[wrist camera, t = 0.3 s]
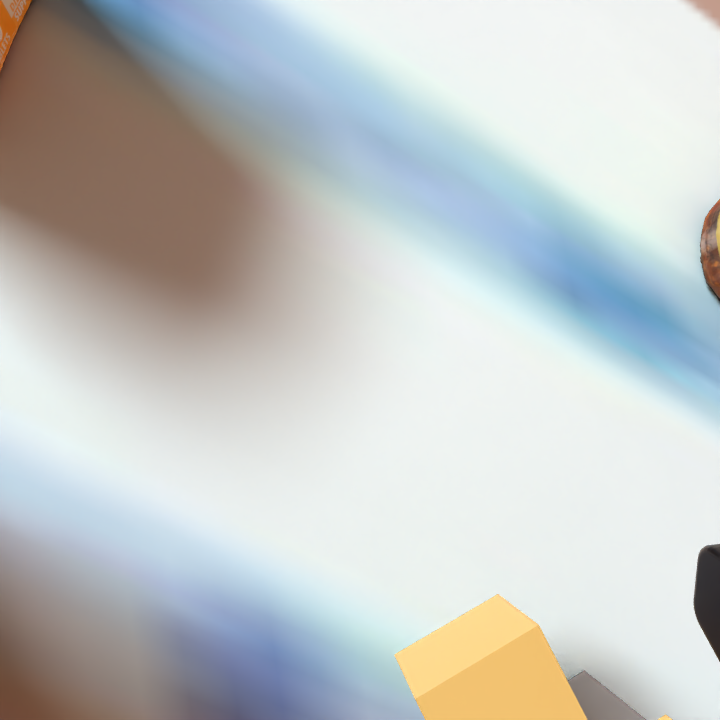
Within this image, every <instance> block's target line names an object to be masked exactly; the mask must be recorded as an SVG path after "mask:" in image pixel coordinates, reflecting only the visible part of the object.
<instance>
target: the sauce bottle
mask: <svg viewBox="0 0 720 720" xmlns="http://www.w3.org/2000/svg"><path fill="white" fill-rule="evenodd" d="M700 248H701V257H700V259H701V263H702V267H703V272H704V276H705V279H706V283H707V284H708V285H709V286H710V287H711V288H712V289H713V291H714V292H715V293H716V295H717V296H718V297H719V298H720V199H719V201H718V202H717V203H716V204H715V205H714V206H713V207H712V209H711V210H710V211H709V213H708V215H707V216H706V218H705V221H704V225H703V229H702V234H701V242H700Z"/></svg>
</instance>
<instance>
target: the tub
mask: <svg viewBox="0 0 720 720" xmlns="http://www.w3.org/2000/svg"><path fill="white" fill-rule="evenodd" d="M568 683H569V685H570V687H571V689H572V691H573V693H574V695H575V696H576V698H577V700H578V702H579V704H580V706H581V708H582V710H583V712H584V714H585V716H586V718H587V720H646V719H645V718H643V717H642V716H641V715H640V714H638V713H637V712H636V711H634V710H633V709H632V708H631V707H629V706H628V705H627V704H626V703H624V702H623V701H622V700H621V699H619V698H618V697H617V696H616V695H614V694H613V693H612V692H611V691H609V690H608V689H607V688H606V687H604V686H603V685H602V684H601V683H599V682H598V681H597V680H596V679H594V678H593V677H592V676H591V675H589V674H588V673H587V672H586V671H583V672H581V673H580V674H578V675H576V676H575V677H573V678H571V679H570V680H568Z"/></svg>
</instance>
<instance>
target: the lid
mask: <svg viewBox="0 0 720 720" xmlns="http://www.w3.org/2000/svg"><path fill="white" fill-rule="evenodd" d="M395 657H396V659H397V662H398V664H399V666H400V668H401V670H402V672H403V674H404V676H405V679H406V681H407V683H408V685H409V687H410V689H411V691H412V694H413V696H414V698H415V700H416V702H417V704H418V706H419V708H420V710H421V712H422V714H423V716H424V718H425V720H587V718H586V716H585V714H584V712H583V710H582V708H581V706H580V704H579V702H578V700H577V698H576V696H575V695H574V693H573V691H572V689H571V687H570V685H569V683H568V681H567V679H566V677H565V675H564V673H563V671H562V669H561V667H560V665H559V663H558V661H557V660H556V658H555V656H554V654H553V652H552V650H551V648H550V646H549V644H548V642H547V640H546V638H545V636H544V634H543V632H542V630H541V628H540V626H539V625H538V624H537V623H536V622H534V621H533V620H532V619H530V618H529V617H528V616H526V615H525V614H524V613H522V612H521V611H520V610H518V609H517V608H516V607H514V606H513V605H512V604H510V603H509V602H508V601H507V600H505V599H504V598H503V597H501V596H500V595H499V594H497V595H496V596H494V597H492V598H490V599H489V600H487V601H485V602H484V603H482V604H480V605H479V606H477V607H475V608H473V609H472V610H470V611H468V612H467V613H465V614H463V615H461V616H460V617H458V618H456V619H455V620H453V621H451V622H449V623H448V624H446V625H444V626H443V627H441V628H439V629H437V630H436V631H434V632H432V633H431V634H429V635H427V636H426V637H424V638H422V639H420V640H419V641H417V642H415V643H414V644H412V645H410V646H408V647H407V648H405V649H403V650H402V651H400V652H398V653H396V654H395ZM658 720H672V719H671V718H669V717H668V716H667V715H664V716H663V717H661V718H659V719H658Z"/></svg>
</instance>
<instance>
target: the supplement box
mask: <svg viewBox="0 0 720 720" xmlns="http://www.w3.org/2000/svg"><path fill="white" fill-rule="evenodd" d="M31 1H32V0H0V71H1V68H2V67H3V63H4V61H5V58H6V55H7V53H8V51H9V49H10V46H11V44H12V41H13V39H14V37H15V35H16V33H17V30H18V28H19V26H20V23H21V22H22V20H23V17H24V15H25V13H26V11H27V10H28V7H29V5H30V3H31Z"/></svg>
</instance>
